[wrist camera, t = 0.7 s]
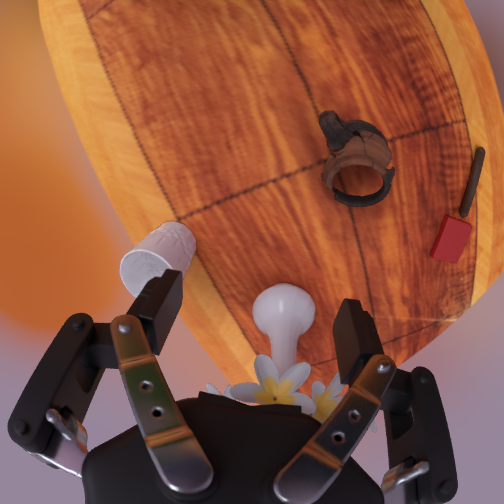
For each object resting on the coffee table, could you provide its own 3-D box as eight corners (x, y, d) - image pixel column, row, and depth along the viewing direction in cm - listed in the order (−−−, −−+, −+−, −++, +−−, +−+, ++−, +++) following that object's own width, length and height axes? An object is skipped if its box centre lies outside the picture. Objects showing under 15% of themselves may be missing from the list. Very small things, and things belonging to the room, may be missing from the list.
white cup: (178, 206, 36) (147, 237, 28) (211, 250, 39) (191, 291, 30) (141, 234, 39) (108, 268, 30) (173, 272, 42) (148, 313, 33)
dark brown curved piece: (400, 151, 30) (412, 195, 26) (345, 179, 37) (345, 222, 33) (346, 81, 24) (353, 113, 20) (288, 122, 31) (279, 161, 27)
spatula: (466, 138, 27) (472, 140, 25) (490, 153, 26) (496, 155, 25) (429, 254, 36) (433, 259, 34) (454, 260, 36) (458, 265, 34)
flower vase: (346, 318, 43) (374, 457, 21) (240, 331, 46) (215, 466, 24) (344, 250, 37) (398, 408, 15) (219, 268, 40) (166, 422, 18)
